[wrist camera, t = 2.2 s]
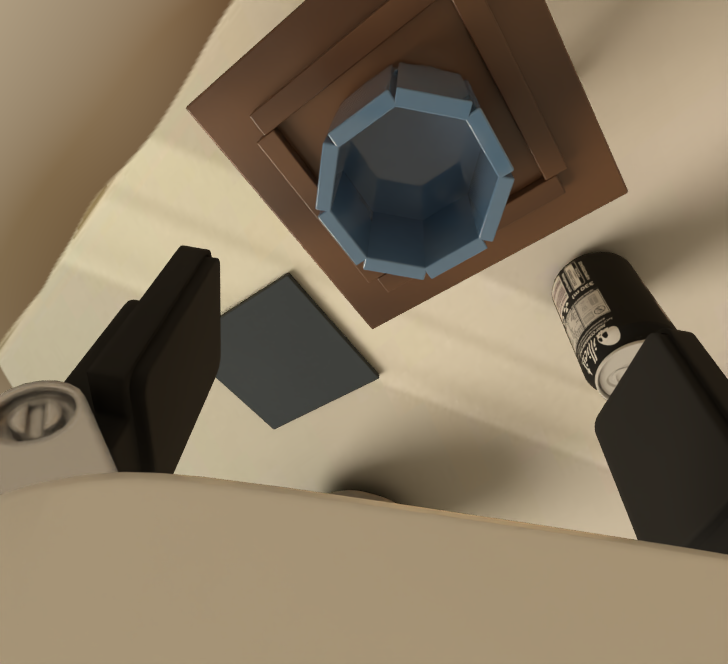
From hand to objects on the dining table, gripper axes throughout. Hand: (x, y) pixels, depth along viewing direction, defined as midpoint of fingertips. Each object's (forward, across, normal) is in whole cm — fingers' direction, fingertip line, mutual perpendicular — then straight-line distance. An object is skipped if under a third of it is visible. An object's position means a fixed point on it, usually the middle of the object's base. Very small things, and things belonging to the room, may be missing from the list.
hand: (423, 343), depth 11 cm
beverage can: (+30, -18, +13) cm, 37 cm away
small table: (+30, 0, 0) cm, 30 cm away
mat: (+30, +7, +27) cm, 41 cm away
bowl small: (+14, 0, 0) cm, 14 cm away
